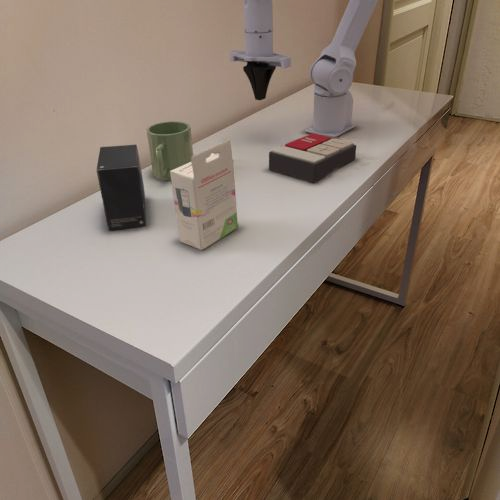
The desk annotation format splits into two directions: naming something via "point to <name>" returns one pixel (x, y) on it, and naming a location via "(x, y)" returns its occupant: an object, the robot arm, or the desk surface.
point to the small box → (121, 186)
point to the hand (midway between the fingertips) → (260, 99)
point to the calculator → (311, 156)
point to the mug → (169, 147)
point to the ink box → (205, 196)
